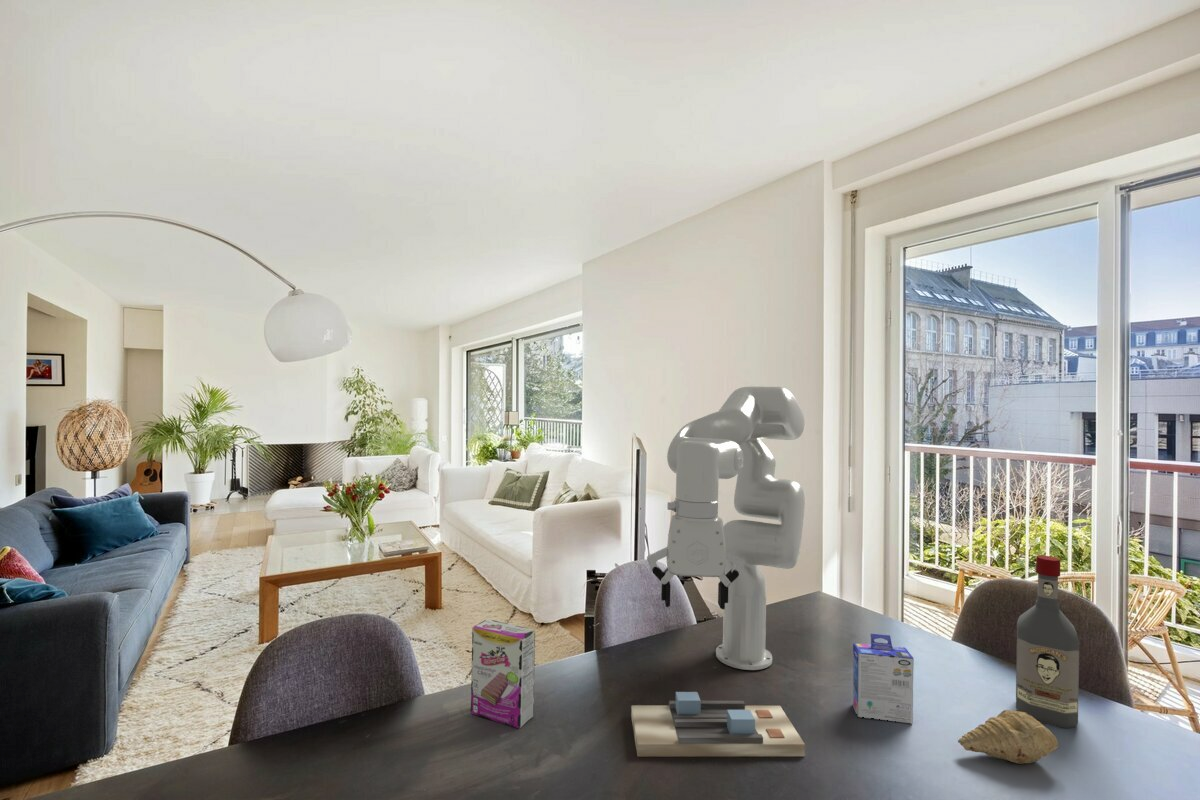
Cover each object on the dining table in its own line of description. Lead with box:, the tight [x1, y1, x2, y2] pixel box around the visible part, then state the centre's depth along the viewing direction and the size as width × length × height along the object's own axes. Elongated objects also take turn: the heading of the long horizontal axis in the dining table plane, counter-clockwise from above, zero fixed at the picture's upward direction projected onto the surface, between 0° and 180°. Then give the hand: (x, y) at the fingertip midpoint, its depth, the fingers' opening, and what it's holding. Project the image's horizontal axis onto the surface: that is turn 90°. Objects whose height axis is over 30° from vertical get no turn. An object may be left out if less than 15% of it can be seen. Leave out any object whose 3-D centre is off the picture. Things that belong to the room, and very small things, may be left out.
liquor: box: [1015, 554, 1080, 729], centre depth 109 cm, size 9×9×30 cm
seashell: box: [957, 709, 1059, 765], centre depth 95 cm, size 14×8×8 cm, turn 93°
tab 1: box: [675, 691, 702, 714], centre depth 103 cm, size 3×4×3 cm
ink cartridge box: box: [852, 633, 915, 724], centre depth 108 cm, size 10×6×14 cm, turn 78°
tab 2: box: [727, 710, 755, 734], centre depth 97 cm, size 3×4×3 cm
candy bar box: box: [470, 618, 536, 729], centre depth 105 cm, size 11×5×16 cm, turn 65°
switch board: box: [630, 700, 806, 757], centre depth 100 cm, size 12×28×3 cm, turn 92°
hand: (694, 605), depth 102 cm, fingers open, 9 cm apart
